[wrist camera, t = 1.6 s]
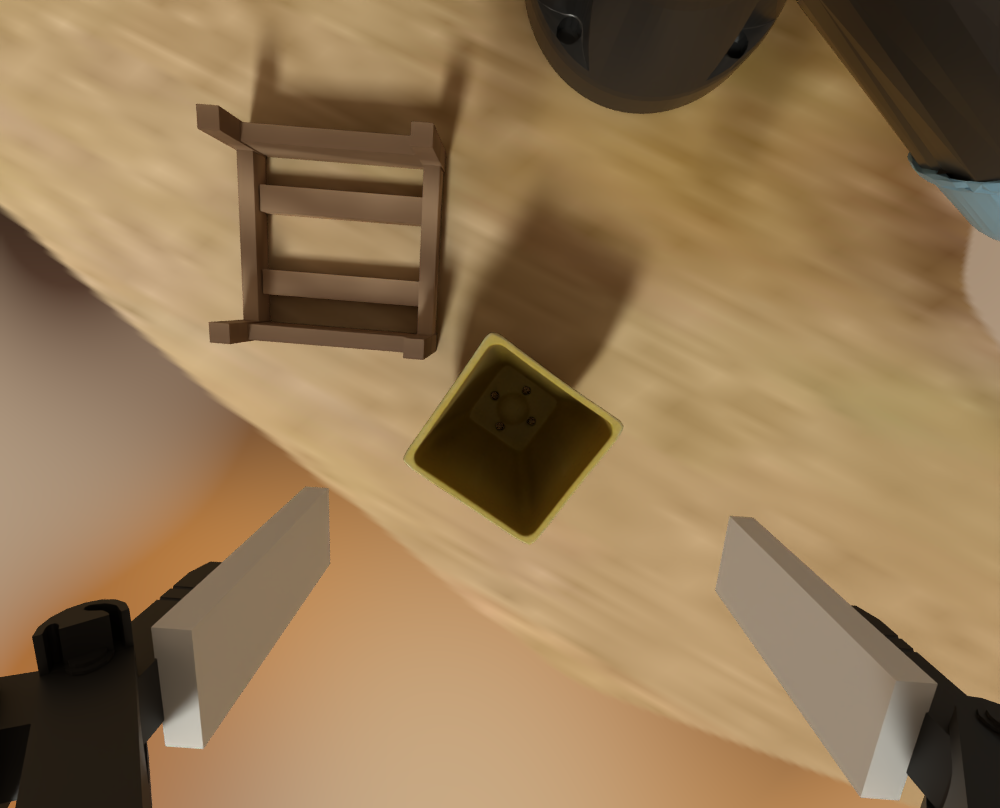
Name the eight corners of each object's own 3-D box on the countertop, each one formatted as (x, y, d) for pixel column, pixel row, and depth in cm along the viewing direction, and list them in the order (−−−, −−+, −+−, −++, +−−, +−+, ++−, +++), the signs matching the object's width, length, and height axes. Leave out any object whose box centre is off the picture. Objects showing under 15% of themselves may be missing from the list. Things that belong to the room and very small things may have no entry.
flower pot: (427, 420, 34) (398, 462, 25) (496, 321, 32) (491, 328, 23) (524, 486, 35) (530, 549, 26) (596, 393, 33) (628, 426, 24)
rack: (247, 136, 30) (196, 103, 25) (445, 152, 30) (433, 123, 25) (255, 336, 32) (210, 342, 28) (436, 351, 32) (423, 359, 27)
